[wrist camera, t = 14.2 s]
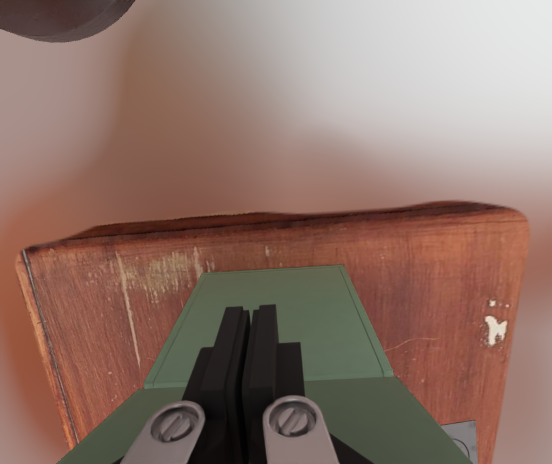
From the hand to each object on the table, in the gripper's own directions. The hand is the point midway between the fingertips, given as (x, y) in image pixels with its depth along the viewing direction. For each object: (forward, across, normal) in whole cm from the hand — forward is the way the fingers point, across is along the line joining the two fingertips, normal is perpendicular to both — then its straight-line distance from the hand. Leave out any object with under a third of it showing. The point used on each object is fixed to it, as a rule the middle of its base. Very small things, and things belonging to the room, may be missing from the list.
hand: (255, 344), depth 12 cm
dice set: (+18, -15, +26) cm, 35 cm away
